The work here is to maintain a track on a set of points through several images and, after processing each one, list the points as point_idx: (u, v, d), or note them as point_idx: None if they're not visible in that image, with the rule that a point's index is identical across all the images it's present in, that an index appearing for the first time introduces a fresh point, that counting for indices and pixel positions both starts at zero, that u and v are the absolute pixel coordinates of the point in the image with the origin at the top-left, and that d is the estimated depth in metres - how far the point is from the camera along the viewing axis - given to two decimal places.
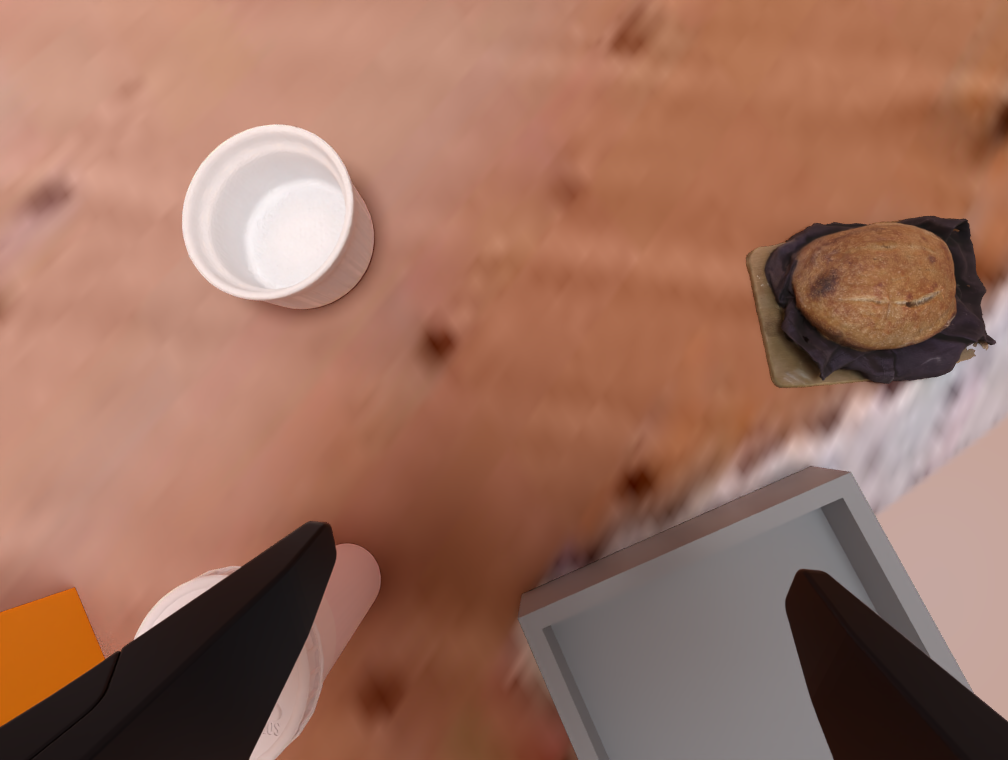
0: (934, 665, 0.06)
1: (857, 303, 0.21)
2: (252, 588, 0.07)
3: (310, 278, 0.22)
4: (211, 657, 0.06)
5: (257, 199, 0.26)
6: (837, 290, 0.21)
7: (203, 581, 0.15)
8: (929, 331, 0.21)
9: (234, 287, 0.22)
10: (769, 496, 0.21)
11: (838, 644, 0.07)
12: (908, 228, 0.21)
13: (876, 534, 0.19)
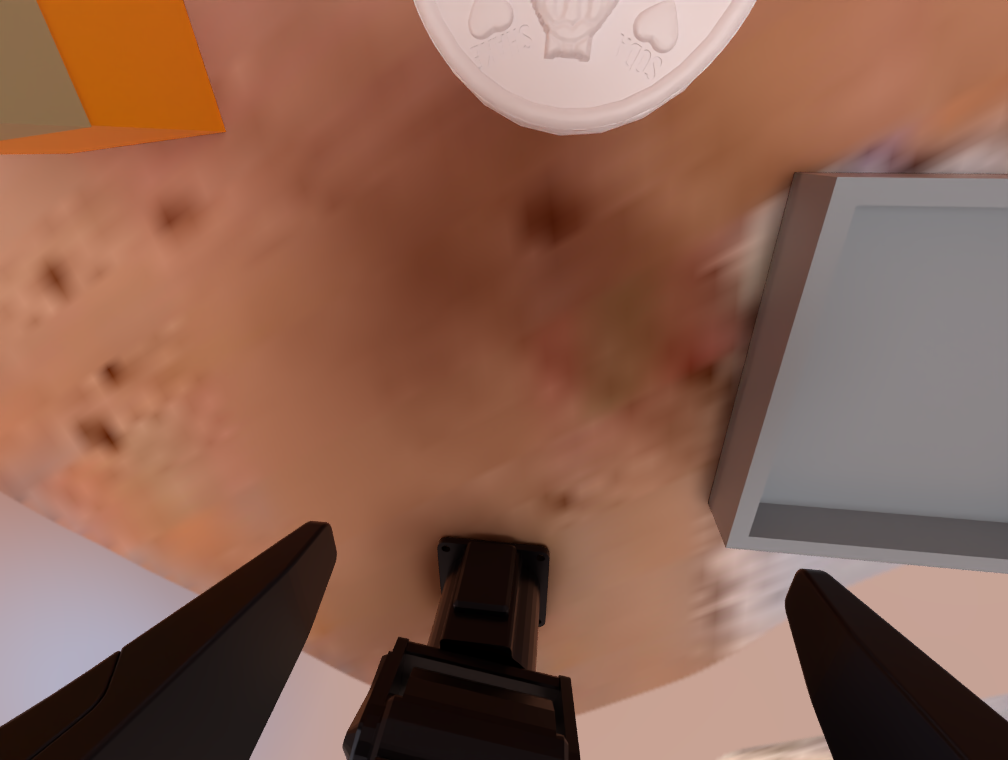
0: (934, 665, 0.06)
1: None
2: (252, 588, 0.07)
3: None
4: (211, 657, 0.06)
5: None
6: None
7: None
8: None
9: None
10: None
11: (838, 644, 0.07)
12: None
13: None
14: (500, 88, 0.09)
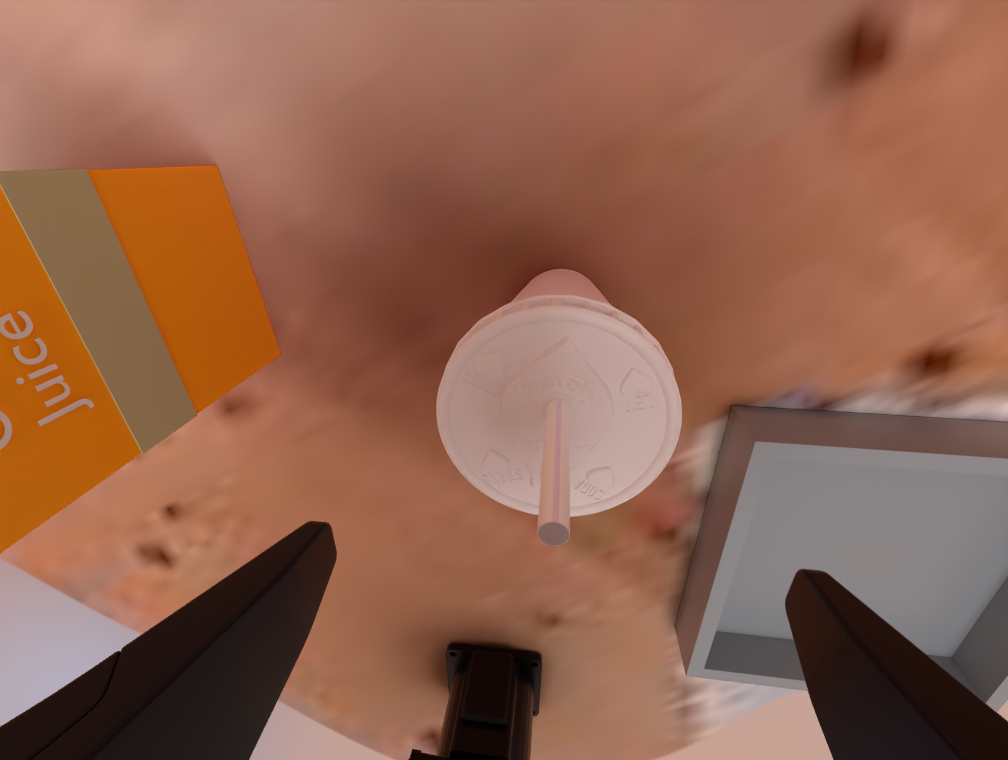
0: (935, 665, 0.06)
1: None
2: (252, 588, 0.07)
3: None
4: (211, 657, 0.06)
5: None
6: None
7: (589, 316, 0.11)
8: None
9: None
10: None
11: (838, 644, 0.07)
12: None
13: None
14: (501, 495, 0.13)
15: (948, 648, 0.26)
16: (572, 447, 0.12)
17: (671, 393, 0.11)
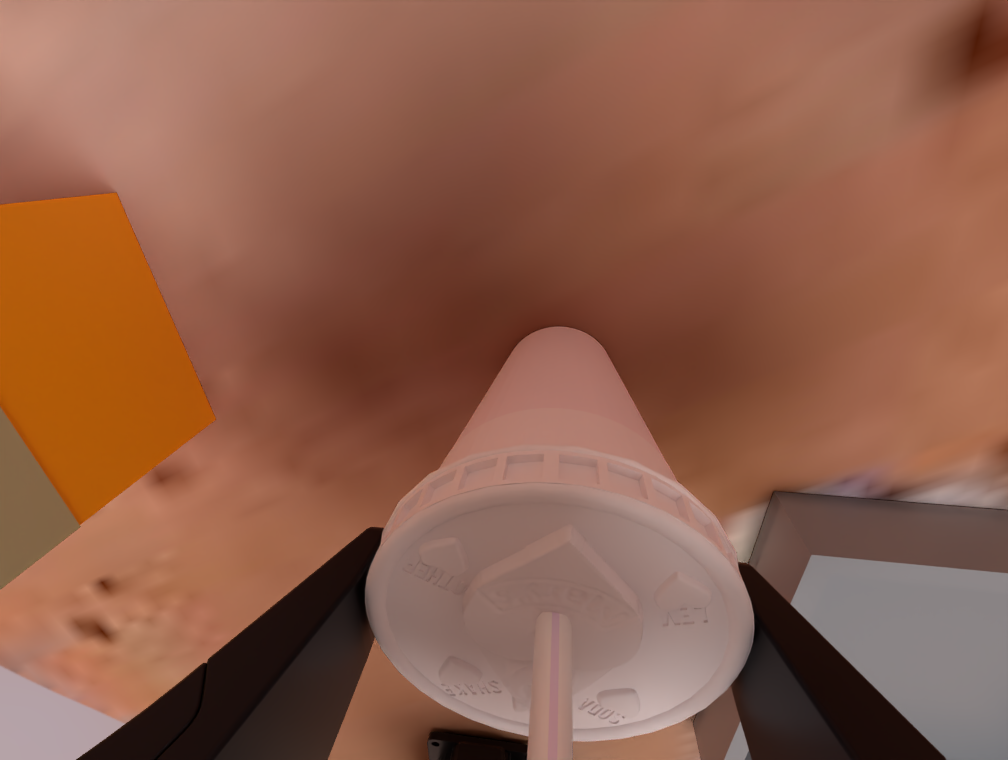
0: (835, 654, 0.06)
1: None
2: (327, 597, 0.07)
3: None
4: (296, 669, 0.06)
5: None
6: None
7: (607, 499, 0.06)
8: None
9: None
10: None
11: None
12: None
13: None
14: (470, 710, 0.09)
15: None
16: (576, 670, 0.08)
17: (740, 612, 0.07)
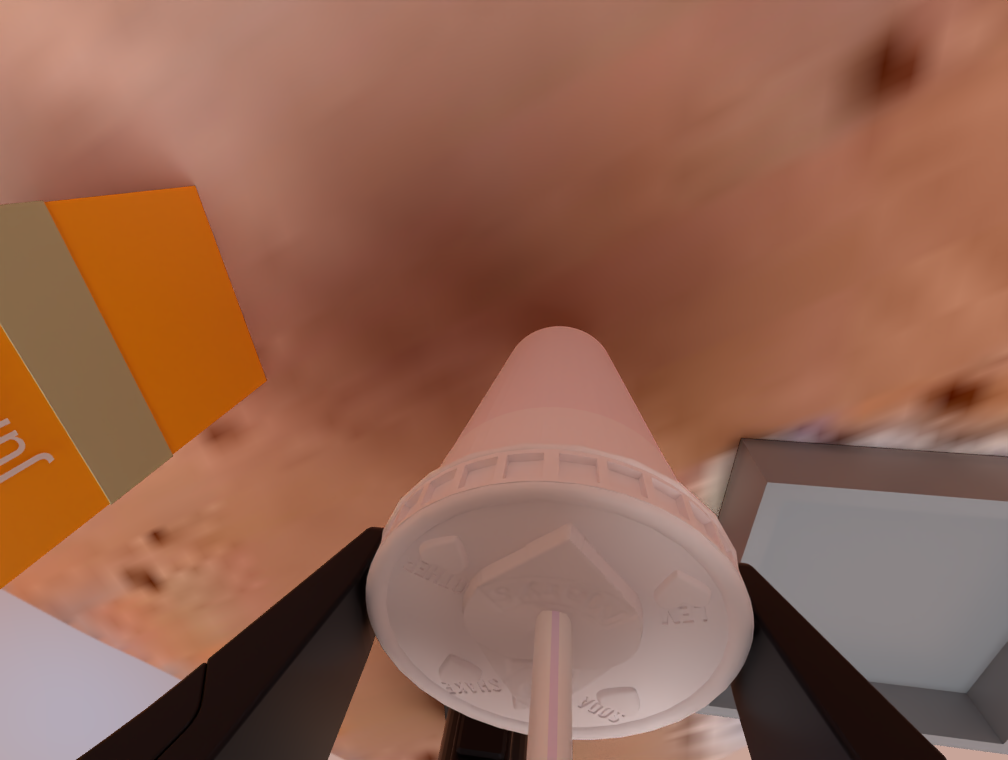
0: (836, 654, 0.06)
1: None
2: (327, 597, 0.07)
3: None
4: (296, 669, 0.06)
5: None
6: None
7: (607, 498, 0.06)
8: None
9: None
10: None
11: None
12: None
13: None
14: (471, 708, 0.09)
15: (963, 684, 0.25)
16: (576, 668, 0.08)
17: (740, 611, 0.07)
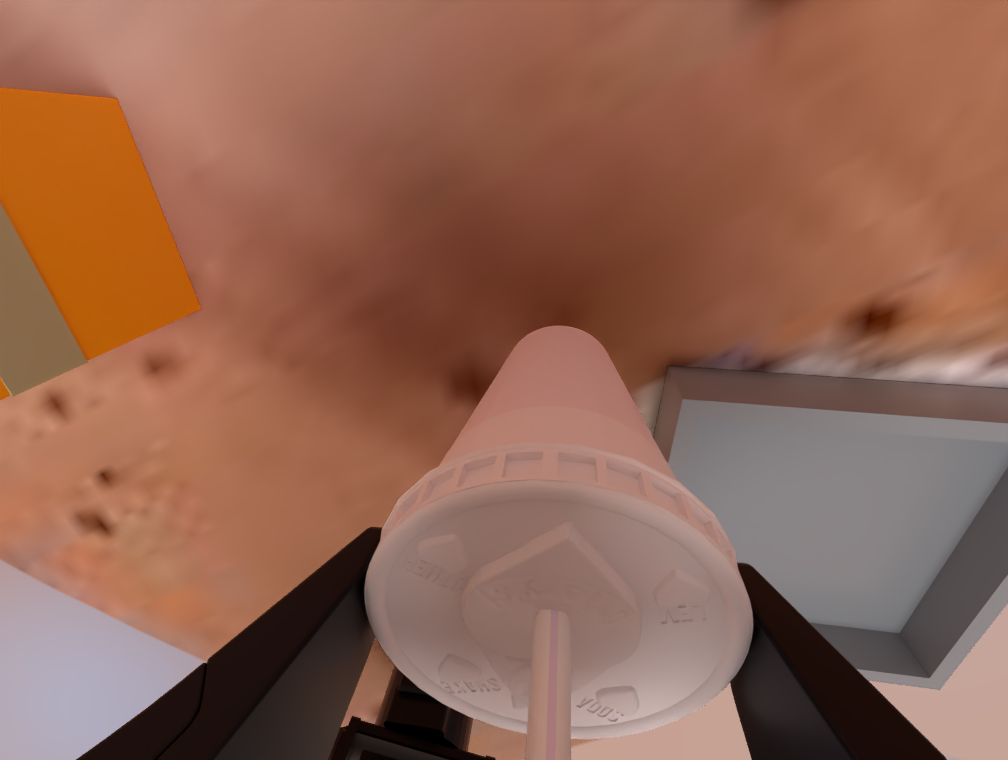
0: (836, 654, 0.06)
1: None
2: (327, 597, 0.07)
3: None
4: (296, 668, 0.06)
5: None
6: None
7: (606, 496, 0.06)
8: None
9: None
10: None
11: None
12: None
13: None
14: (470, 708, 0.09)
15: (896, 624, 0.25)
16: (575, 667, 0.08)
17: (739, 610, 0.07)
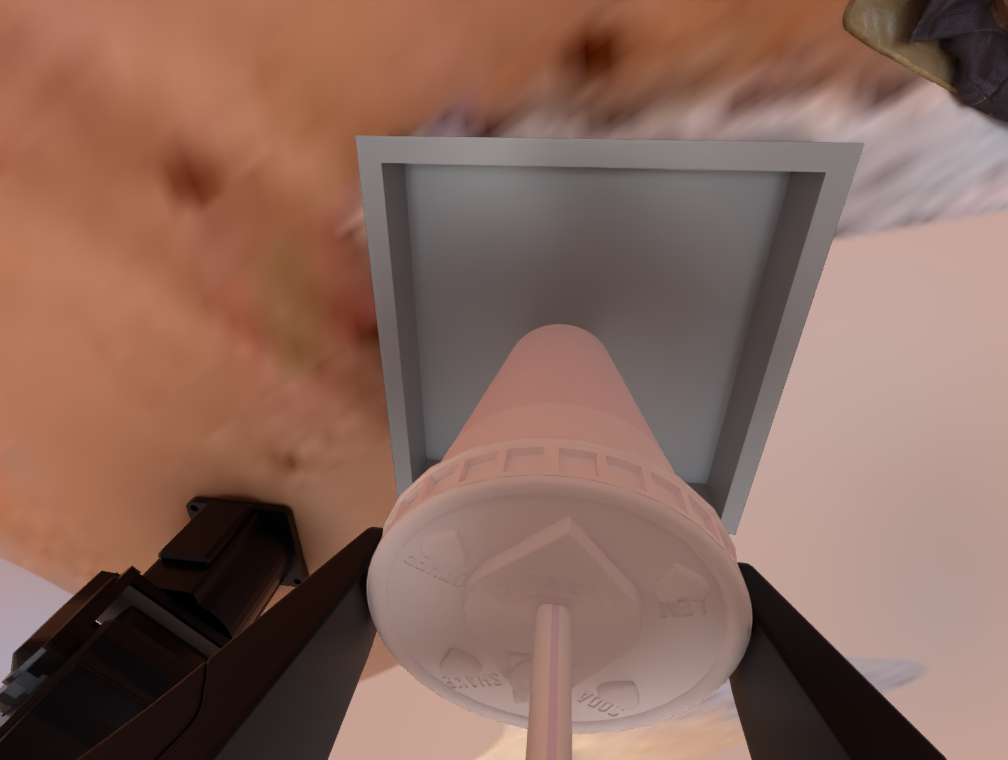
0: (835, 654, 0.06)
1: None
2: (327, 597, 0.07)
3: None
4: (296, 668, 0.06)
5: None
6: None
7: (606, 491, 0.06)
8: None
9: None
10: None
11: (751, 634, 0.07)
12: None
13: (822, 235, 0.15)
14: (471, 703, 0.09)
15: (700, 472, 0.22)
16: (576, 662, 0.08)
17: (738, 604, 0.07)
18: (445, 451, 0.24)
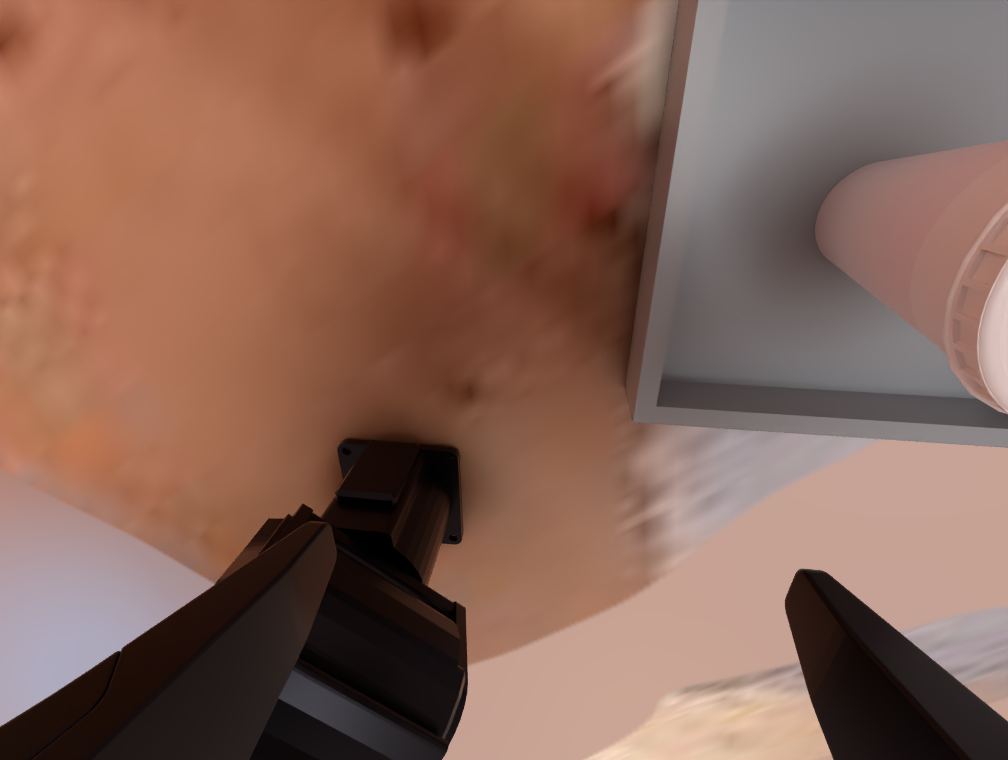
0: (934, 666, 0.06)
1: None
2: (252, 588, 0.07)
3: None
4: (211, 657, 0.06)
5: None
6: None
7: None
8: None
9: None
10: None
11: (838, 644, 0.07)
12: None
13: None
14: None
15: None
16: None
17: None
18: (672, 368, 0.20)
